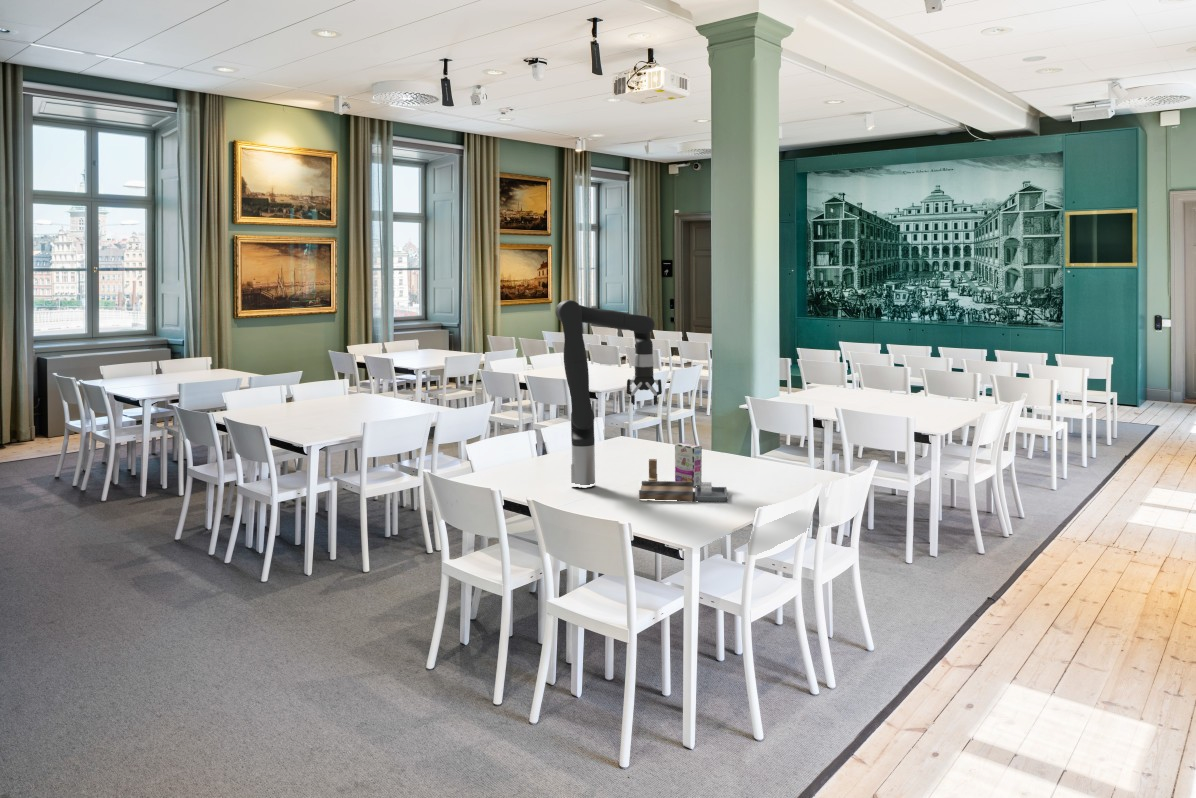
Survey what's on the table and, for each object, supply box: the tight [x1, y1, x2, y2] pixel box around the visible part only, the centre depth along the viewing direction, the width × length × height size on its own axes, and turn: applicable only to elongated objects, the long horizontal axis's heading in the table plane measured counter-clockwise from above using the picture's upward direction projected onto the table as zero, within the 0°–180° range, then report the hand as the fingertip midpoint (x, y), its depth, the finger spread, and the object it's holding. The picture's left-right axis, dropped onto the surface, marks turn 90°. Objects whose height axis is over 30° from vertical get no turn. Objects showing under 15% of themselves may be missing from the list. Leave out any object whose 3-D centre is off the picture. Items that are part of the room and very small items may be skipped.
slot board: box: [638, 480, 694, 502], centre depth 346 cm, size 20×16×4 cm
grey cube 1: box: [701, 481, 713, 487], centre depth 348 cm, size 4×4×4 cm
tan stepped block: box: [647, 458, 658, 481], centre depth 362 cm, size 3×11×11 cm, turn 173°
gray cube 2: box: [700, 485, 713, 497], centre depth 343 cm, size 4×4×4 cm
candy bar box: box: [674, 442, 703, 488], centre depth 364 cm, size 11×5×16 cm, turn 37°
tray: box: [694, 486, 728, 503], centre depth 345 cm, size 12×16×2 cm
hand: (644, 404), depth 367 cm, fingers open, 8 cm apart
